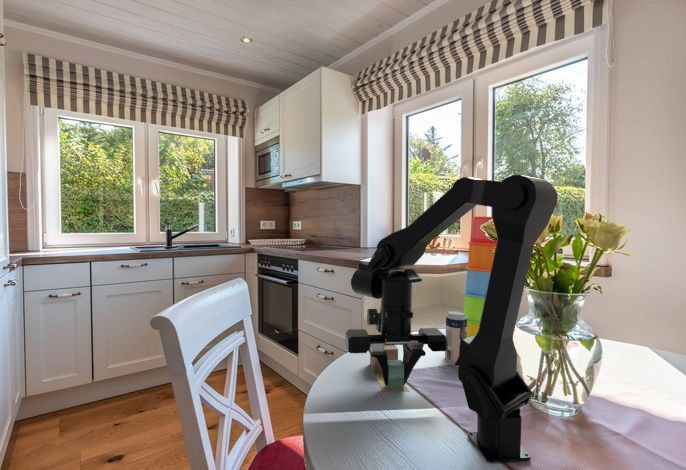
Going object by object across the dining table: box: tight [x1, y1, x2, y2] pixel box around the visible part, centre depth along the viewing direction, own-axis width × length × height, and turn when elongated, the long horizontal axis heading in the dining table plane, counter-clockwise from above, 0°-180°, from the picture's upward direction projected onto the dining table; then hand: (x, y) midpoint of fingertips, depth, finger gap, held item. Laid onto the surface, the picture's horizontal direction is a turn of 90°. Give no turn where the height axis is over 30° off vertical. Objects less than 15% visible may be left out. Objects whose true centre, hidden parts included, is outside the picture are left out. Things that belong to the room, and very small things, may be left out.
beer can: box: [444, 310, 467, 364], centre depth 84 cm, size 5×5×12 cm
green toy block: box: [373, 359, 410, 394], centre depth 75 cm, size 14×5×6 cm, turn 6°
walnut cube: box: [369, 345, 399, 374], centre depth 79 cm, size 5×5×5 cm
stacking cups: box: [462, 216, 497, 338], centre depth 95 cm, size 10×10×35 cm
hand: (394, 384), depth 69 cm, fingers closed on green toy block, 3 cm apart
